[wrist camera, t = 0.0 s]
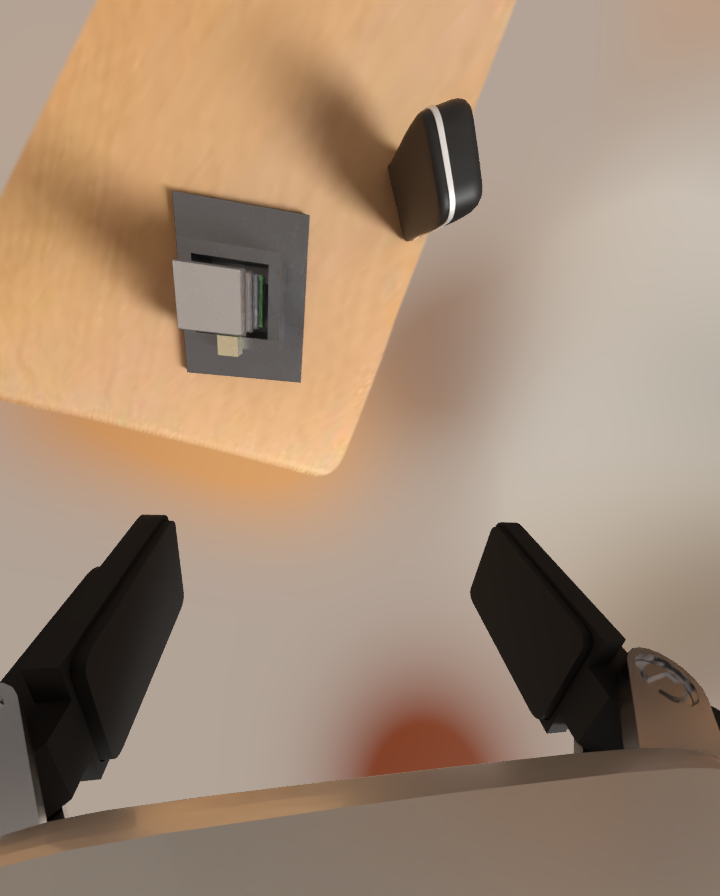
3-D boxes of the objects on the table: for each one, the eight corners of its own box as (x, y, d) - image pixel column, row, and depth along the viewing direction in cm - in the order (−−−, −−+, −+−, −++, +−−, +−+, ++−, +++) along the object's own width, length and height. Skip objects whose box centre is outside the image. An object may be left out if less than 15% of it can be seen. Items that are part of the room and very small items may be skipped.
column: (220, 271, 32) (168, 256, 20) (267, 277, 33) (242, 266, 21) (222, 319, 34) (175, 330, 22) (266, 324, 35) (244, 338, 23)
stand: (176, 193, 30) (126, 155, 22) (309, 217, 32) (308, 190, 24) (190, 370, 36) (155, 391, 28) (300, 380, 38) (298, 402, 30)
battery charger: (439, 232, 34) (494, 204, 24) (404, 245, 34) (444, 223, 24) (423, 148, 31) (478, 75, 21) (385, 163, 31) (421, 97, 21)
